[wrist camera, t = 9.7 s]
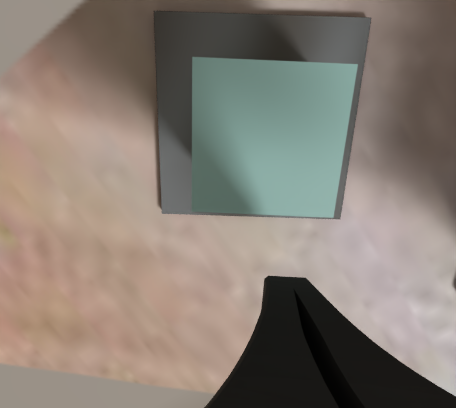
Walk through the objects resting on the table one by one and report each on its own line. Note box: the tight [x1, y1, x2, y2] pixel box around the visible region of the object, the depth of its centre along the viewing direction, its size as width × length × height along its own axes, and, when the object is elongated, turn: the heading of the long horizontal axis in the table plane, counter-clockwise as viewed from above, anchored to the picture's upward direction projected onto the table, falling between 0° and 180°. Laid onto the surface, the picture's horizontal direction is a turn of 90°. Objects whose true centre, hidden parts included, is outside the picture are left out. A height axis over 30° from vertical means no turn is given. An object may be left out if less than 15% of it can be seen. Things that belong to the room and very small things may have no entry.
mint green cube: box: [192, 57, 358, 218], centre depth 14 cm, size 5×5×6 cm
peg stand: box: [154, 11, 371, 219], centre depth 15 cm, size 10×10×5 cm
